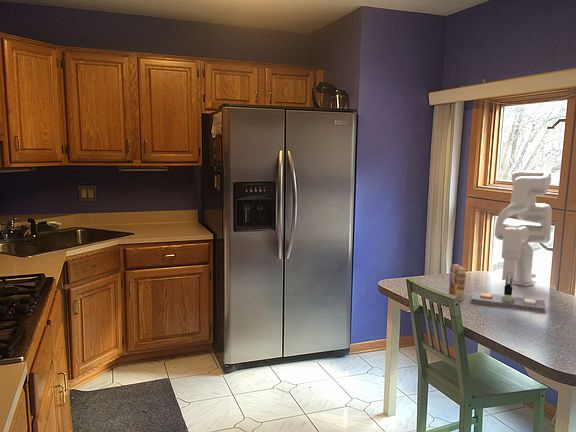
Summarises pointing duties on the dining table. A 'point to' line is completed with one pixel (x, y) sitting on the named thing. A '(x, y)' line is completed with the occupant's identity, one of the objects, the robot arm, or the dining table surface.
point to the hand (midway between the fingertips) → (507, 294)
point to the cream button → (529, 301)
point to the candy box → (457, 281)
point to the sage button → (507, 298)
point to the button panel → (516, 304)
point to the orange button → (486, 295)
